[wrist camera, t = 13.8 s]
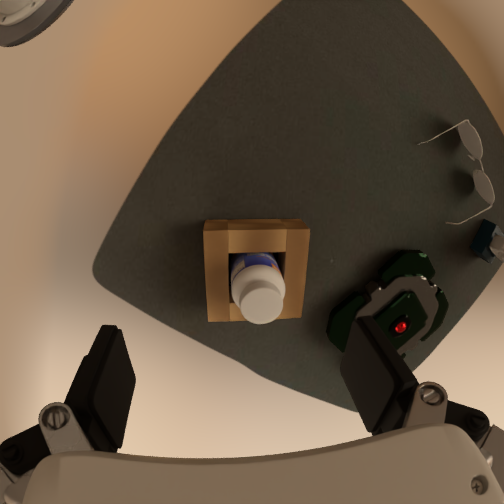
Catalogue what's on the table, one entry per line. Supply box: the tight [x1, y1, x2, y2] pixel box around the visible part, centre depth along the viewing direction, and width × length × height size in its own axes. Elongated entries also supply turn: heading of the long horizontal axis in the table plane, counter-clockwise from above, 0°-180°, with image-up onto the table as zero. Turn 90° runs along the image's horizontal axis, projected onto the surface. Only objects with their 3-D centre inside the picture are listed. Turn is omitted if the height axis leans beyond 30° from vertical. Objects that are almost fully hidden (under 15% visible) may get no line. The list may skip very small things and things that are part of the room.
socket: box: [203, 219, 310, 322], centre depth 34 cm, size 11×11×4 cm
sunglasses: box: [419, 120, 494, 224], centre depth 32 cm, size 14×8×5 cm, turn 34°
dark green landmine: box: [326, 250, 449, 359], centre depth 39 cm, size 18×18×5 cm
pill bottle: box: [230, 252, 285, 324], centre depth 31 cm, size 5×5×10 cm
